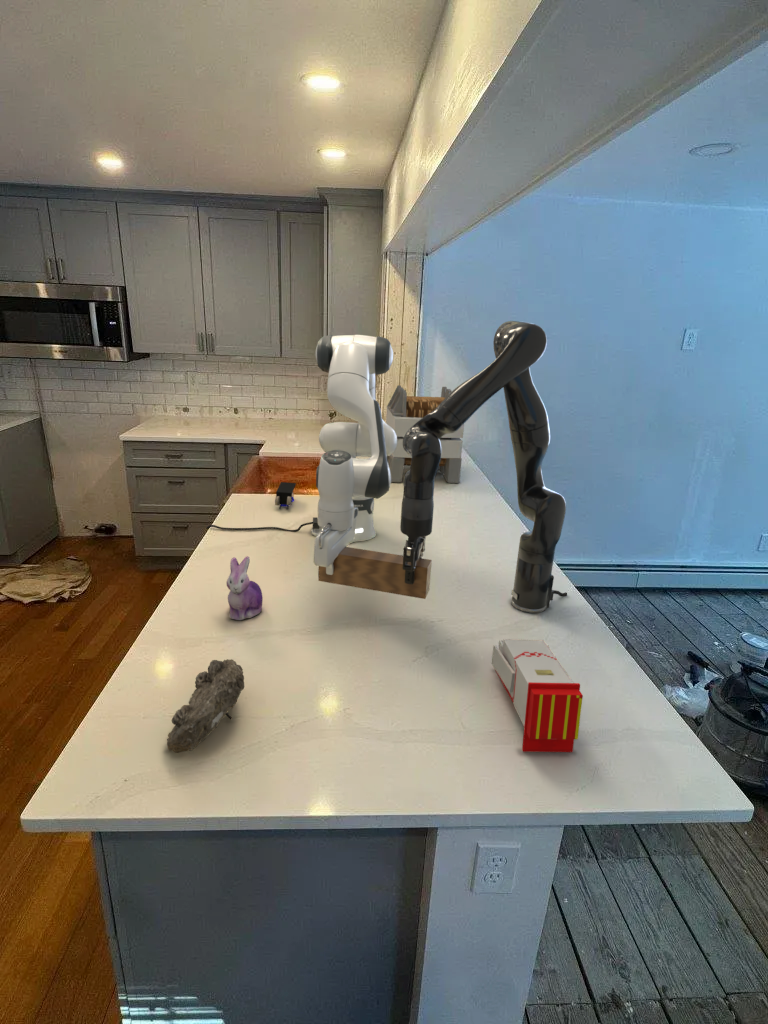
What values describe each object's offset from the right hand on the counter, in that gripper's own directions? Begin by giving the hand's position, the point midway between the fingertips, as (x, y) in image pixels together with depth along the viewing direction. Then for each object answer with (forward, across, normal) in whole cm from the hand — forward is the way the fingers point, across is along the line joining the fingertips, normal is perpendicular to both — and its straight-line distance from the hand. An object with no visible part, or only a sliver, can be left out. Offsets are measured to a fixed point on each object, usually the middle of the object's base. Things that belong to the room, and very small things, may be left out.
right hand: (412, 576), depth 139 cm
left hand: (+1, 0, +20) cm, 20 cm away
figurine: (+13, -9, +41) cm, 44 cm away
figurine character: (+13, +70, +67) cm, 98 cm away
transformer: (+13, +137, +28) cm, 141 cm away
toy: (+13, -22, -30) cm, 40 cm away
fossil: (+13, -46, +28) cm, 55 cm away
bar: (+4, 0, +10) cm, 11 cm away
